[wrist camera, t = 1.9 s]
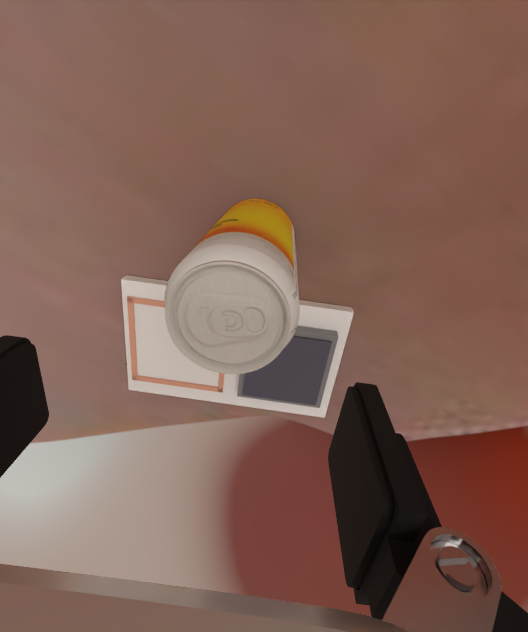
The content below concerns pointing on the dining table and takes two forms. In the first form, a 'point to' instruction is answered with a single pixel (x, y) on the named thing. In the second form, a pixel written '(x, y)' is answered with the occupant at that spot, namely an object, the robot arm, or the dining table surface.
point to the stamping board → (237, 389)
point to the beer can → (237, 291)
